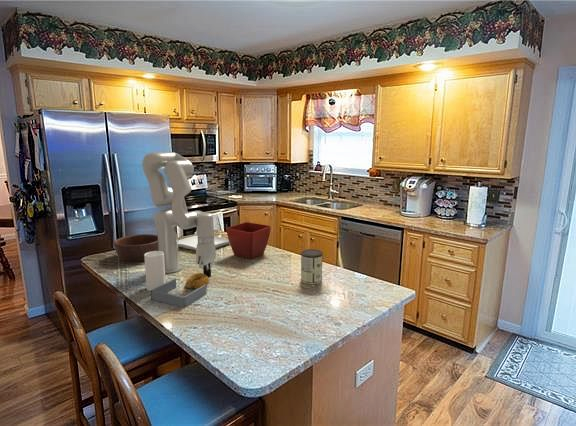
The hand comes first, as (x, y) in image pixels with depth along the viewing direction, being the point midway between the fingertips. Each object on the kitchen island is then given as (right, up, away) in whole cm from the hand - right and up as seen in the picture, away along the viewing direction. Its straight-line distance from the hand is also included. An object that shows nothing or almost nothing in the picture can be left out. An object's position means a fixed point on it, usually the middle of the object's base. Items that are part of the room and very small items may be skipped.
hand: (207, 276), depth 175 cm
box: (-8, -5, -17) cm, 20 cm away
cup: (-21, -4, -8) cm, 23 cm away
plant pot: (+16, +6, +40) cm, 44 cm away
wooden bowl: (-47, +5, +35) cm, 59 cm away
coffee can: (+50, -2, +2) cm, 50 cm away
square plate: (-16, +9, +58) cm, 61 cm away
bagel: (-3, -3, -6) cm, 8 cm away
